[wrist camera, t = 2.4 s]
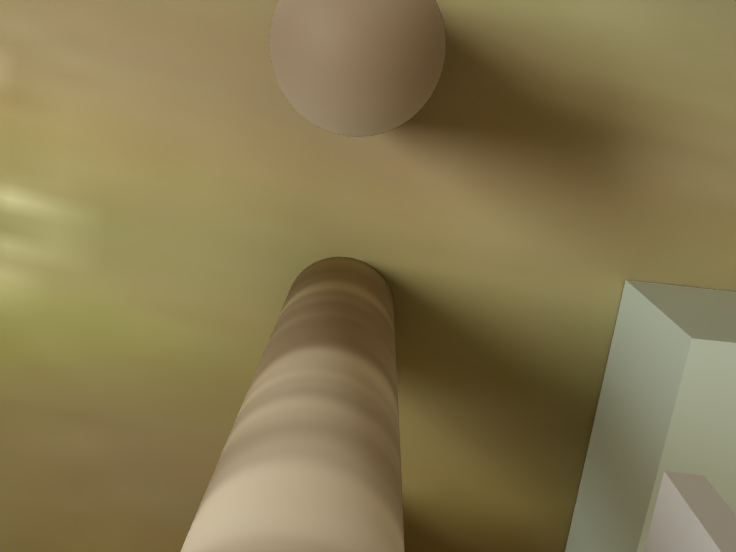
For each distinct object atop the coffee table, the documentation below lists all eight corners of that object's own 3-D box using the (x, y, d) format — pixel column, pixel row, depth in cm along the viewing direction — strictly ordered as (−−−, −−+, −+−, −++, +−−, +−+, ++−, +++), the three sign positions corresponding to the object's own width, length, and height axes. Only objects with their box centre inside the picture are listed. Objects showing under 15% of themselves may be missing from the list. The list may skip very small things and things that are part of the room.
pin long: (289, 249, 22) (80, 656, 7) (401, 261, 22) (442, 692, 7) (281, 353, 23) (86, 907, 8) (388, 364, 23) (399, 938, 8)
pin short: (311, -17, 20) (274, -60, 13) (432, -4, 20) (457, -39, 13) (302, 107, 21) (264, 127, 14) (417, 120, 21) (433, 145, 14)
